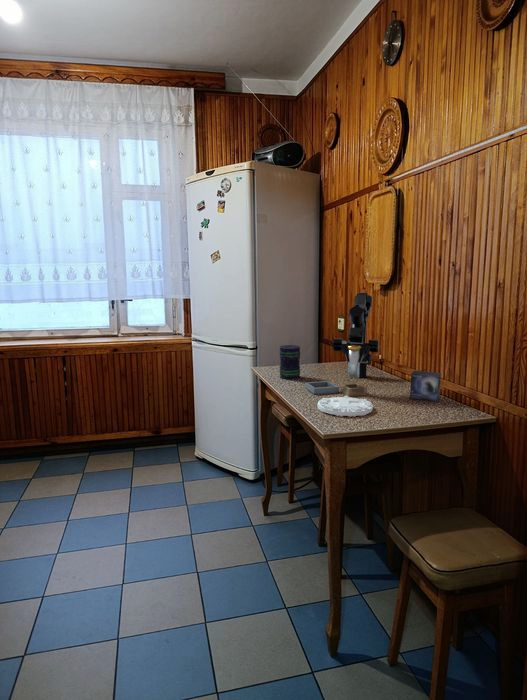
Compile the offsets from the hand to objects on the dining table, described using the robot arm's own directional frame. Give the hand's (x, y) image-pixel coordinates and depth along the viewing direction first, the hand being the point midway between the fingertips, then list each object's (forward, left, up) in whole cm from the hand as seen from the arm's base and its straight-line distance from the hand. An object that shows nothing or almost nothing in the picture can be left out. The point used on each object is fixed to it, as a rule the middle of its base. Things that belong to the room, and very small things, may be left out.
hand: (353, 362), depth 191 cm
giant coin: (+19, -12, -14) cm, 26 cm away
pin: (-1, +1, -7) cm, 7 cm away
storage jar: (-37, -15, -14) cm, 42 cm away
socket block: (-1, +1, -13) cm, 13 cm away
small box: (+15, +24, -14) cm, 31 cm away
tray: (-9, -10, -13) cm, 19 cm away
